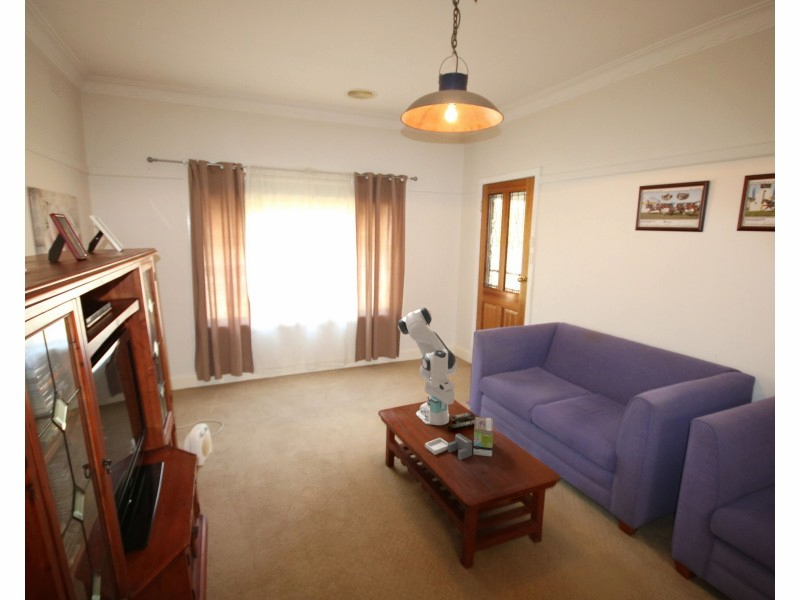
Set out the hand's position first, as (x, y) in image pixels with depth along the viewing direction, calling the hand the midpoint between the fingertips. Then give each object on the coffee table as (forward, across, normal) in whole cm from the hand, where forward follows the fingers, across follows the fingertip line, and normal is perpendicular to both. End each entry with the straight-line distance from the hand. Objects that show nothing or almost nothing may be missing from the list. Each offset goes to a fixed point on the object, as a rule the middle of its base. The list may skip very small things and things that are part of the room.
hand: (438, 406), depth 211 cm
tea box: (+25, +14, +20) cm, 35 cm away
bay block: (+24, +10, +6) cm, 27 cm away
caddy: (+2, 0, 0) cm, 2 cm away
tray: (+24, 0, 0) cm, 24 cm away
